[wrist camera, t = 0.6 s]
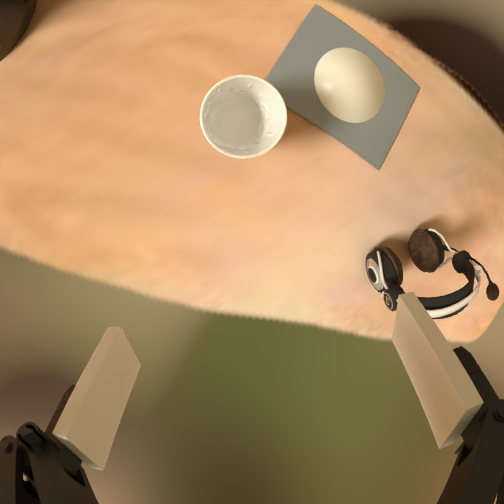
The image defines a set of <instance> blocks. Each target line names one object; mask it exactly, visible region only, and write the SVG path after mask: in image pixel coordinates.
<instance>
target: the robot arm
mask: <svg viewBox="0 0 504 504" xmlns="http://www.w3.org/2000/svg"><path fill="white" fill-rule="evenodd" d="M35 5H36V0H0V60H1V59H2V58H3V57H4V56H5V55H7V54H8V53H9V51H10V50H11V49H12V48H13V47H14V46H15V45H16V43H17V42H18V41H19V39H20V38H21V36H22V35H23V33H24V32H25V30H26V28H27V26H28V24H29V22H30V20H31V18H32V15H33V13H34V9H35ZM392 341H393V343H394V345H395V347H396V349H397V351H398V353H399V355H400V358H401V360H402V362H403V364H404V366H405V368H406V370H407V372H408V375H409V377H410V379H411V381H412V384H413V386H414V388H415V390H416V393H417V395H418V397H419V400H420V402H421V404H422V407H423V409H424V411H425V414H426V416H427V418H428V421H429V424H430V426H431V428H432V431H433V434H434V436H435V439H436V442H437V444H438V447H439V449H441V448H443V447H445V446H448V445H450V444H453V443H455V442H456V441H457V440H458V438H459V437H460V436H462V438H463V440H464V441H463V442H462V444H461V445H460V446H459V447H458V449H457V450H456V452H455V454H457V453H458V452H459V453H458V456H457V459H456V461H455V464H454V466H453V469H452V471H451V474H450V476H449V479H448V481H447V483H446V485H445V488H444V490H443V492H442V494H441V496H440V498H439V500H438V502H437V504H494V501H495V498H496V495H497V501H496V504H504V400H503V399H499V398H498V396H497V395H496V393H495V391H494V390H493V388H492V386H491V385H490V383H489V381H488V380H487V378H486V376H485V375H484V373H483V372H482V371H481V369H480V367H479V365H478V364H477V363H476V361H475V359H474V357H473V356H472V355H471V353H469V352H468V351H467V350H466V349H464V348H463V347H462V346H461V347H458V348H455V349H452V348H451V346H450V345H449V343H448V342H447V340H446V339H445V337H444V336H443V334H442V333H441V331H440V330H439V328H438V327H437V325H436V324H435V322H434V321H433V319H432V318H431V316H430V315H429V314H428V312H427V311H426V309H425V308H424V306H423V305H422V304H421V302H420V301H419V299H418V298H417V297H416V295H415V294H414V293H413V292H411V293H406V294H401V295H399V297H398V304H397V311H396V317H395V324H394V330H393V335H392ZM140 366H141V365H140V363H139V361H138V359H137V357H136V355H135V353H134V352H133V350H132V348H131V346H130V344H129V342H128V340H127V338H126V336H125V334H124V332H123V330H122V328H121V327H108V329H107V330H106V332H105V334H104V336H103V338H102V339H101V341H100V343H99V344H98V346H97V348H96V349H95V351H94V353H93V355H92V357H91V359H90V360H89V362H88V364H87V366H86V368H85V369H84V371H83V373H82V375H81V377H80V379H79V381H78V382H77V384H76V385H72V386H71V387H70V388H69V389H68V390H67V391H66V392H65V394H64V395H63V397H62V399H61V402H60V403H59V405H58V409H56V411H55V413H54V415H53V417H52V419H51V421H50V423H49V425H48V427H47V429H46V431H45V433H44V432H43V431H42V430H41V429H40V428H39V427H38V426H37V425H36V424H35V423H32V422H27V423H25V424H23V425H22V426H21V427H20V428H19V429H18V431H17V434H16V438H15V437H13V436H9V435H8V436H5V437H4V438H3V439H2V440H1V441H0V504H98V501H97V499H96V497H95V495H94V493H93V490H92V488H91V486H90V484H89V481H88V479H87V476H86V474H85V471H84V469H83V468H82V466H81V463H82V461H83V462H84V463H86V464H87V465H88V466H89V467H92V468H95V469H99V470H104V467H105V464H106V461H107V458H108V455H109V452H110V449H111V446H112V443H113V440H114V437H115V434H116V431H117V428H118V426H119V423H120V420H121V417H122V414H123V411H124V409H125V406H126V403H127V400H128V398H129V395H130V393H131V390H132V387H133V385H134V382H135V379H136V377H137V374H138V372H139V369H140ZM23 474H24V475H25V476H26V477H27V480H26V481H24V480H23ZM497 492H498V493H497Z"/></svg>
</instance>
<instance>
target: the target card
mask: <svg viewBox="0 0 504 504" xmlns="http://www.w3.org/2000/svg"><path fill="white" fill-rule="evenodd" d="M265 81H267V82H269V83H270V84H271V85H273V86H274V87H275V88H276V89H277V90H278V92H279V93H280V95H281V96H282V98H283V100H284V102H285V105H286V107H287V108H289V109H290V110H292V111H294V112H295V113H297V114H299V115H300V116H302V117H303V118H305V119H307V120H308V121H310V122H311V123H313V124H314V125H316V126H317V127H319V128H320V129H322V130H324V131H325V132H326V133H328V134H329V135H331V136H332V137H334V138H335V139H337V140H338V141H340V142H341V143H342V144H344V145H345V146H347V147H348V148H349V149H351V150H352V151H354V152H355V153H356V154H358V155H359V156H360V157H362V158H363V159H364V160H366V161H367V162H368V163H370V164H371V165H372V166H374V167H375V168H376V169H378V170H379V168H380V167H381V165H382V163H383V161H384V159H385V157H386V155H387V153H388V151H389V150H390V148H391V146H392V144H393V142H394V140H395V138H396V136H397V134H398V132H399V130H400V128H401V126H402V124H403V122H404V120H405V118H406V116H407V114H408V112H409V110H410V107H411V105H412V103H413V101H414V99H415V97H416V95H417V93H418V90H419V88H420V87H419V86H418V85H417V84H416V83H415V82H414V81H413V80H412V79H411V78H410V77H409V76H408V75H407V74H406V73H405V72H404V71H403V70H402V69H401V68H399V67H398V66H397V65H396V64H395V63H394V62H393V61H392V60H391V59H389V58H388V57H387V56H386V55H385V54H384V53H382V52H381V51H380V50H379V49H378V48H376V47H375V46H374V45H373V44H371V43H370V42H369V41H368V40H366V39H365V38H364V37H363V36H361V35H360V34H359V33H357V32H356V31H355V30H353V29H352V28H351V27H349V26H348V25H346V24H345V23H344V22H342V21H341V20H339V19H338V18H336V17H335V16H333V15H332V14H330V13H329V12H327V11H326V10H324V9H323V8H321V7H320V6H318V5H316V4H315V5H314V7H313V8H312V10H311V11H310V12H309V14H308V15H307V17H306V18H305V20H304V21H303V23H302V24H301V26H300V27H299V28H298V30H297V31H296V33H295V34H294V36H293V37H292V39H291V40H290V42H289V44H288V45H287V47H286V48H285V50H284V51H283V53H282V54H281V56H280V57H279V59H278V61H277V62H276V64H275V65H274V67H273V69H272V70H271V72H270V73H269V75H268V77H267V78H266V80H265Z"/></svg>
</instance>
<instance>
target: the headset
mask: <svg viewBox="0 0 504 504" xmlns="http://www.w3.org/2000/svg"><path fill="white" fill-rule="evenodd" d="M436 233H437V234H438V235H439V236H440V237H441V238H442V240H443V241H444V242H445V244H446V246H445V245H443V244H442V242H441V239H440V238H439V236H438V235H437V234H436ZM444 250H446V251H450V252H453V253H455V255H454V256H453V258H448V259H447V260H446V261H445V262H444V263H443V260H444ZM409 252H410V256H411V258H412V261H413V262H414V264H415V265H416V266H417V267H418V268H419V269H420V270H421V271H423V272H428V273H430V272H434V271H435V270H436V269H439V268H442V267H443V266H444V265H445V264H446V263H447V262H448V261H449V260H452V264H453V267H454V269H455V270H456V271H457V272H458V273H463V274H464V275H465V276H466V277H467V279H468V281H469V282H468V283H467V284H466V285H465V286H464V287H463V288H461V289H459V290H457V291H455V292H453V293H451V294H448V295H444V296H439V297H430V298H427V297H417V298H418V299H419V301H420V302H421V304H422V305H423V306H424V308H425V309H426V311H427V312H428V314H429V315H430V316H431V318H432V319H443V318H448V317H451V316H453V315H456V314H458V313H459V312H461V311H462V310H463V309H464V308H465V307H466V306H467V305H468V303H469V302H470V301H471V300H472V299H473V298H474V297H475V295H476V294H477V293H478V290H479V287H480V280H481V279H480V275H479V273H481V272H482V269H483V271H484V272H485V274H486V276H487V278H488V281H489V285H488V286H487V289H486V294H487V297H488V298H489V299H490V300H496V299H497V298H498V296H499V289H498V286H497V285H496V284H495V283H492V281H491V280H490V278H489V275H488V273H487V271H486V270H485V268H484V267H483V266H482V265H481V264H480V263H479V262H478V261H476V260H475V259H474V258H472V257H471V256H470V254H469V253H468V252H467V251H465V250H463V251H460V252H459V251H457V250H456V249H454V248H451V247H449V245H448V243H447V241H446V240H445V238H444V237H443V235H442V234H440V233H439V232H438V231H437V230H435V229H432V228H430V229H426V230H421V229H419V230H416V231H414V233H413V234H412V236H411V237H410V239H409ZM472 260H473V261H474V262H475V263H474V262H473V261H472ZM442 263H443V264H442ZM476 263H477V264H476ZM441 264H442V265H441ZM472 264H473V265H474V266H476V267H478V268H479V269H480V271H478V270H476V269H475V268H474V266H473V265H472ZM439 265H441V266H439ZM366 271H367V275H368V277H369V280H370V282H371V283H372V285H373V286H374V288H375V289H376V290H378V292H380V293H381V297H382V298H383V297H384V302H385V304H386V306H387V307H388V309H390V310H391V311H395V310H397V304H398V297H399V295H401V294H406V293H405V292H404V291H403V289H402V288H401V287H400V285H401V284H402V281H403V269H402V265H401V262H400V260H399V258H398V257H397V255H396V254H395V253H394V252H393V251H392V250H391V249H390V248H388V247H382V246H378V247H376V248H375V250H374V252H372V253H369V254H368V255H367V257H366ZM475 277H476V279H477V281H478V285H477V286H476V288H475V289H474V291H473V285H474V278H475Z"/></svg>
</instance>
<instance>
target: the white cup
mask: <svg viewBox="0 0 504 504" xmlns="http://www.w3.org/2000/svg"><path fill="white" fill-rule="evenodd" d="M200 123H201V127H202V131H203V133H204V135H205V137H206V139H207V140H208V141H209V143H210V144H211V145H212V146H213V147H214V148H215V149H217V150H218V151H220V152H221V153H223V154H225V155H228V156H231V157H235V158H253V157H257V156H260V155H262V154H264V153H266V152H268V151H269V150H271V149H272V148H273V147H274V146H275V145H276V144H277V143H278V142H279V140H280V139H281V137H282V136H283V134H284V131H285V128H286V124H287V109H286V105H285V102H284V100H283V98H282V96H281V95H280V93H279V92H278V90H277V89H276V88H275V87H274V86H273V85H271V84H270V83H269V82H267V81H265V80H263V79H261V78H259V77H255V76H251V75H236V76H231V77H228V78H226V79H224V80H222V81H220V82H218V83H217V84H216V85H214V86H213V87H212V88H211V89H210V91H209V92H208V93H207V95H206V96H205V98H204V100H203V103H202V106H201V110H200Z"/></svg>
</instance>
